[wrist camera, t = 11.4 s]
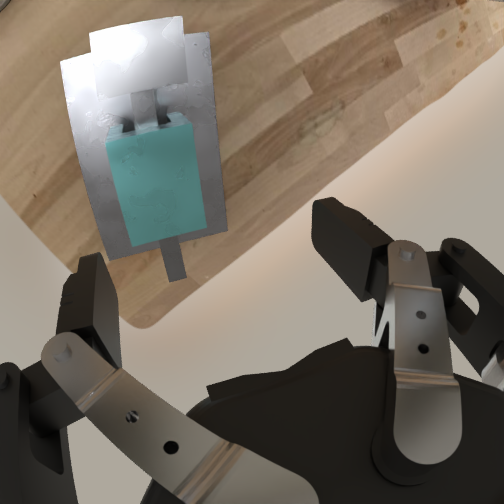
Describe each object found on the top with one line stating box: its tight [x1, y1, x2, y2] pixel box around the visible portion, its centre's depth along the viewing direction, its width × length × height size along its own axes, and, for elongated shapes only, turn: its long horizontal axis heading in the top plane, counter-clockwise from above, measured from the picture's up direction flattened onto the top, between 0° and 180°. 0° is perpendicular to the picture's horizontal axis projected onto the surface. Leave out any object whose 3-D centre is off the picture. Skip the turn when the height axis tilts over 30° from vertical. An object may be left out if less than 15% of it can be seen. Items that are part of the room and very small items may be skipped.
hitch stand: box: [60, 16, 228, 282], centre depth 24 cm, size 14×22×14 cm, turn 3°
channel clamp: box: [105, 112, 207, 247], centre depth 23 cm, size 8×6×6 cm
